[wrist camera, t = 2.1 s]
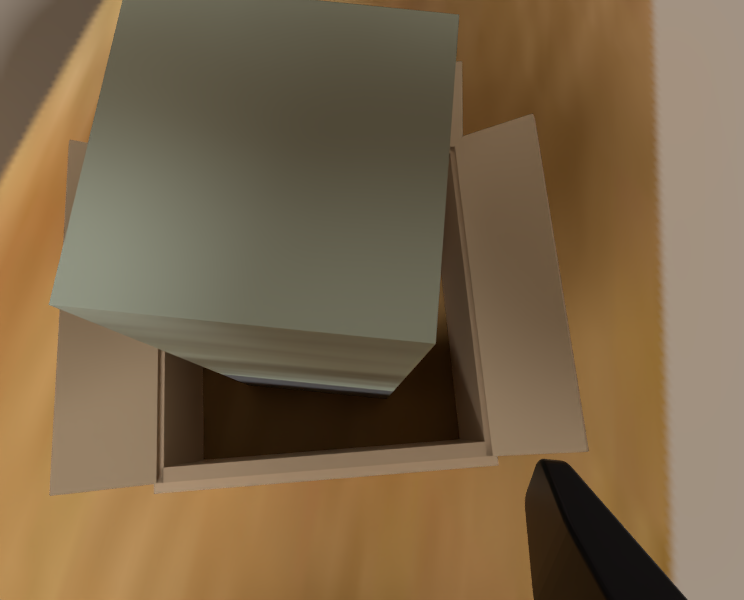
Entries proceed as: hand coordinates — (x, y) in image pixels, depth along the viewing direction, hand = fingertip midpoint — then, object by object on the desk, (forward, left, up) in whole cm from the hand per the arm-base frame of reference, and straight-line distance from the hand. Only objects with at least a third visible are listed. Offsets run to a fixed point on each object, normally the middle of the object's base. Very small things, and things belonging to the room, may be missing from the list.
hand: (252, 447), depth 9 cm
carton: (+4, -1, -11) cm, 12 cm away
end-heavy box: (+4, -1, -11) cm, 12 cm away
